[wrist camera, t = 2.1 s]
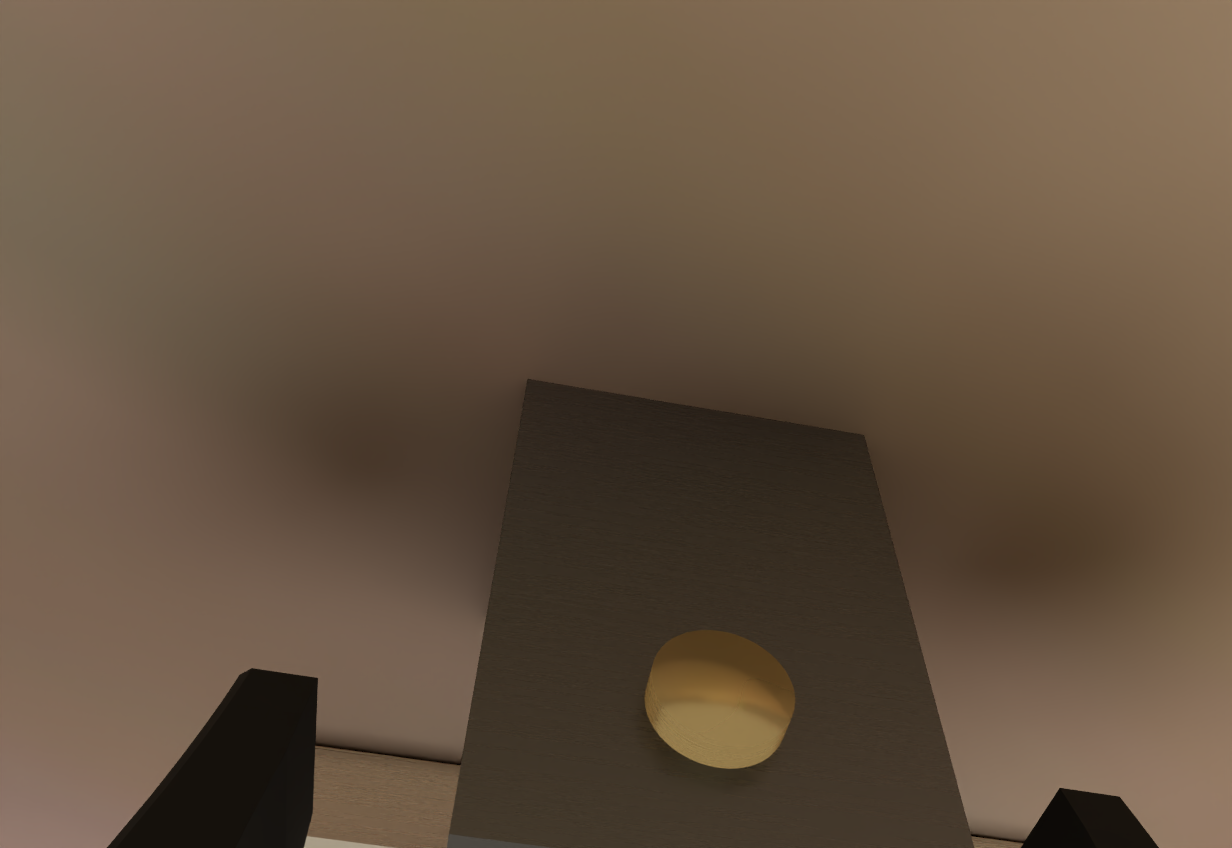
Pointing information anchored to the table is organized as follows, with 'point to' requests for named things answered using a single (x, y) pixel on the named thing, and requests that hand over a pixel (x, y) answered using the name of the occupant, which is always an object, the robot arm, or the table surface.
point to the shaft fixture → (398, 802)
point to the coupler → (698, 643)
